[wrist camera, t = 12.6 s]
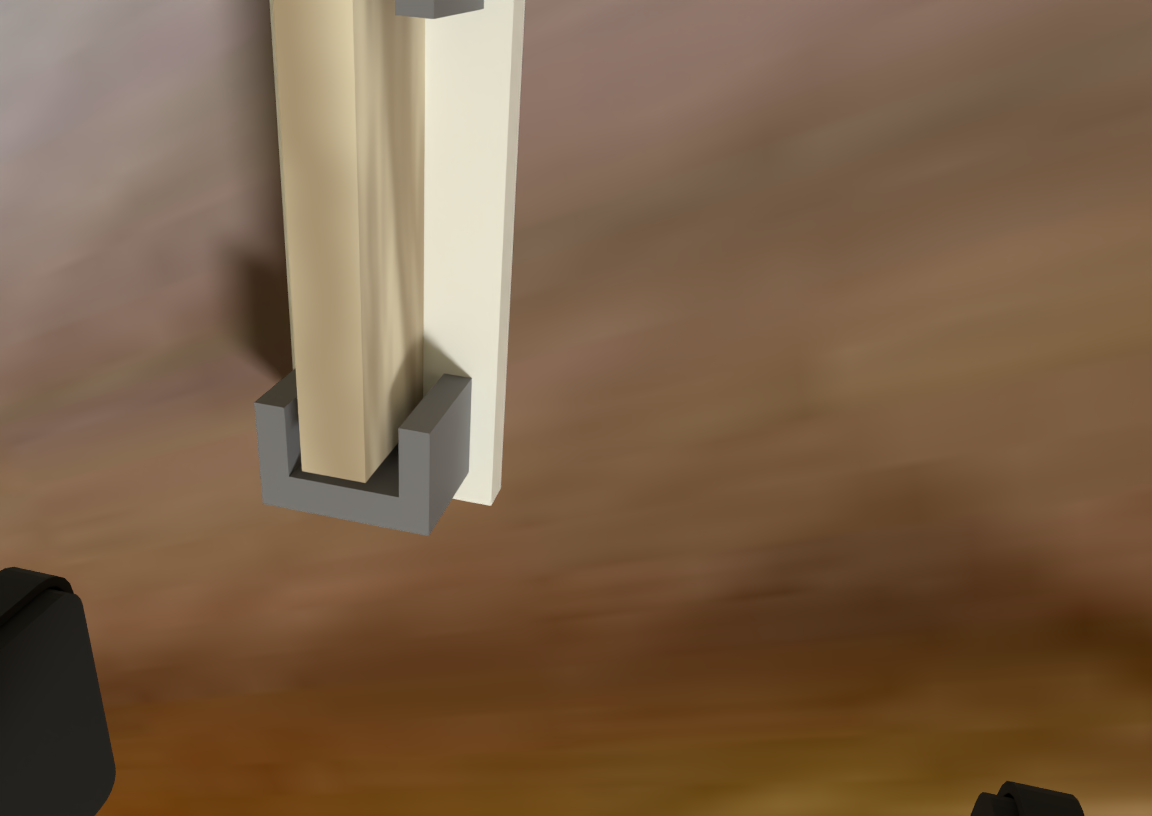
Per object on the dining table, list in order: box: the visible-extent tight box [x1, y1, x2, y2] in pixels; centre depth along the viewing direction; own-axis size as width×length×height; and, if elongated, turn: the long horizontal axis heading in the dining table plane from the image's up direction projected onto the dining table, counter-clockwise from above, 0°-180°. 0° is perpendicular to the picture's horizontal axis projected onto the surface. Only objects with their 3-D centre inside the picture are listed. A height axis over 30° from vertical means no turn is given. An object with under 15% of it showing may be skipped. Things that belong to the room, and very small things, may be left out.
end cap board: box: [254, 0, 525, 536], centre depth 34 cm, size 9×26×6 cm, turn 175°
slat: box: [273, 0, 425, 483], centre depth 33 cm, size 2×18×6 cm, turn 175°
